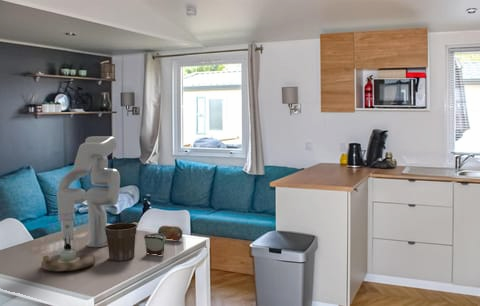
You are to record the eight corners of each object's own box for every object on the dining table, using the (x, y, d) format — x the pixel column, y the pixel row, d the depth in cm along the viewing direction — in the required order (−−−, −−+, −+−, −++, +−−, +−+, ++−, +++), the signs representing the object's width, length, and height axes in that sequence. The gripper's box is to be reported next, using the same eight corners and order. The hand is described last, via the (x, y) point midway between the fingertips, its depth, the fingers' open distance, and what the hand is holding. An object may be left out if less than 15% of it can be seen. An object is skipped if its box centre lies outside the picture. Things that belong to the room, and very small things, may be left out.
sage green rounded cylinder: (76, 256, 224) (75, 248, 224) (75, 260, 217) (75, 252, 217) (60, 257, 222) (60, 249, 222) (60, 261, 215) (59, 253, 215)
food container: (171, 253, 238) (170, 234, 237) (164, 256, 232) (163, 237, 231) (151, 250, 243) (150, 232, 242) (144, 254, 237) (143, 234, 236)
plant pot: (103, 255, 235) (102, 224, 234) (134, 251, 242) (134, 221, 241) (107, 264, 221) (106, 231, 219) (141, 260, 227) (140, 227, 226)
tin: (157, 239, 265) (157, 225, 264) (160, 238, 268) (160, 224, 267) (180, 242, 259) (180, 227, 258) (183, 241, 262) (183, 226, 261)
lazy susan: (92, 253, 234) (92, 244, 234) (98, 266, 212) (97, 257, 212) (41, 259, 225) (41, 250, 224) (41, 274, 203) (41, 264, 202)
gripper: (75, 218, 218) (76, 256, 219) (73, 212, 232) (75, 248, 233) (58, 220, 215) (60, 258, 216) (57, 214, 229) (59, 250, 230)
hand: (67, 253), depth 225 cm, fingers closed
